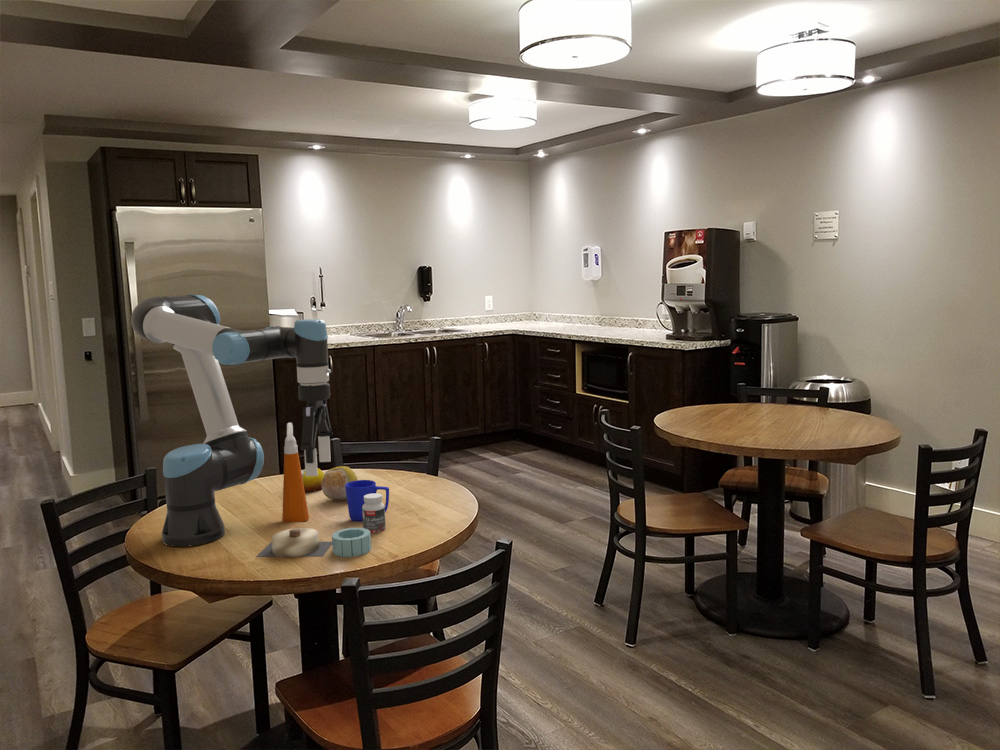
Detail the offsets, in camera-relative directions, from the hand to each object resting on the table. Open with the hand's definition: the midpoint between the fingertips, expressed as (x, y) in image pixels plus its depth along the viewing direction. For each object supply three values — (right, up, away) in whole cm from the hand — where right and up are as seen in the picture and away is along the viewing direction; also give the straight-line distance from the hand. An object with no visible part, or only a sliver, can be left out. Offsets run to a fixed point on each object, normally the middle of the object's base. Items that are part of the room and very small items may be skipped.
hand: (318, 468), depth 193 cm
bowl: (+9, -20, -6) cm, 23 cm away
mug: (+9, -16, +20) cm, 27 cm away
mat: (-4, -20, -4) cm, 21 cm away
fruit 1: (-16, -13, +53) cm, 57 cm away
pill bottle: (+12, -18, +9) cm, 23 cm away
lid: (-4, -19, -4) cm, 20 cm away
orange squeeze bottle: (-12, -17, +23) cm, 31 cm away
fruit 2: (-3, -14, +40) cm, 42 cm away
